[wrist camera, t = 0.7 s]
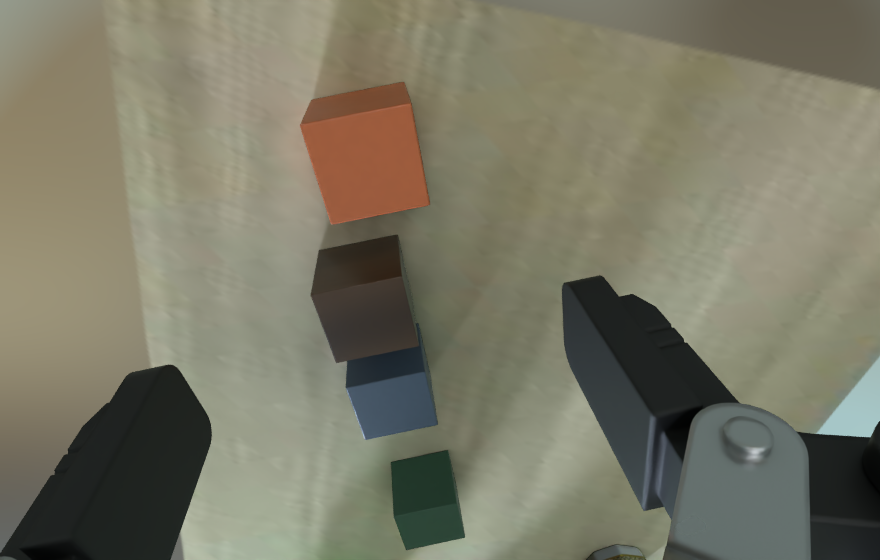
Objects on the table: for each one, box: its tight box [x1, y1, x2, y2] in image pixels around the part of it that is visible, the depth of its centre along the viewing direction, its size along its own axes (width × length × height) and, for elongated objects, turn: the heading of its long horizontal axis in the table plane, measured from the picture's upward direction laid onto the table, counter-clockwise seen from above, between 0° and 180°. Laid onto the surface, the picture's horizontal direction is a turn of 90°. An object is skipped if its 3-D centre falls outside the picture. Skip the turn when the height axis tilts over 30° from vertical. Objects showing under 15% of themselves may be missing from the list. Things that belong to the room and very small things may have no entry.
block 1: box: [300, 82, 430, 224], centre depth 23 cm, size 5×5×5 cm
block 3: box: [346, 323, 438, 440], centre depth 31 cm, size 5×5×5 cm
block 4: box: [391, 450, 465, 550], centre depth 38 cm, size 5×5×5 cm
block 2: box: [311, 235, 419, 363], centre depth 27 cm, size 5×5×5 cm
